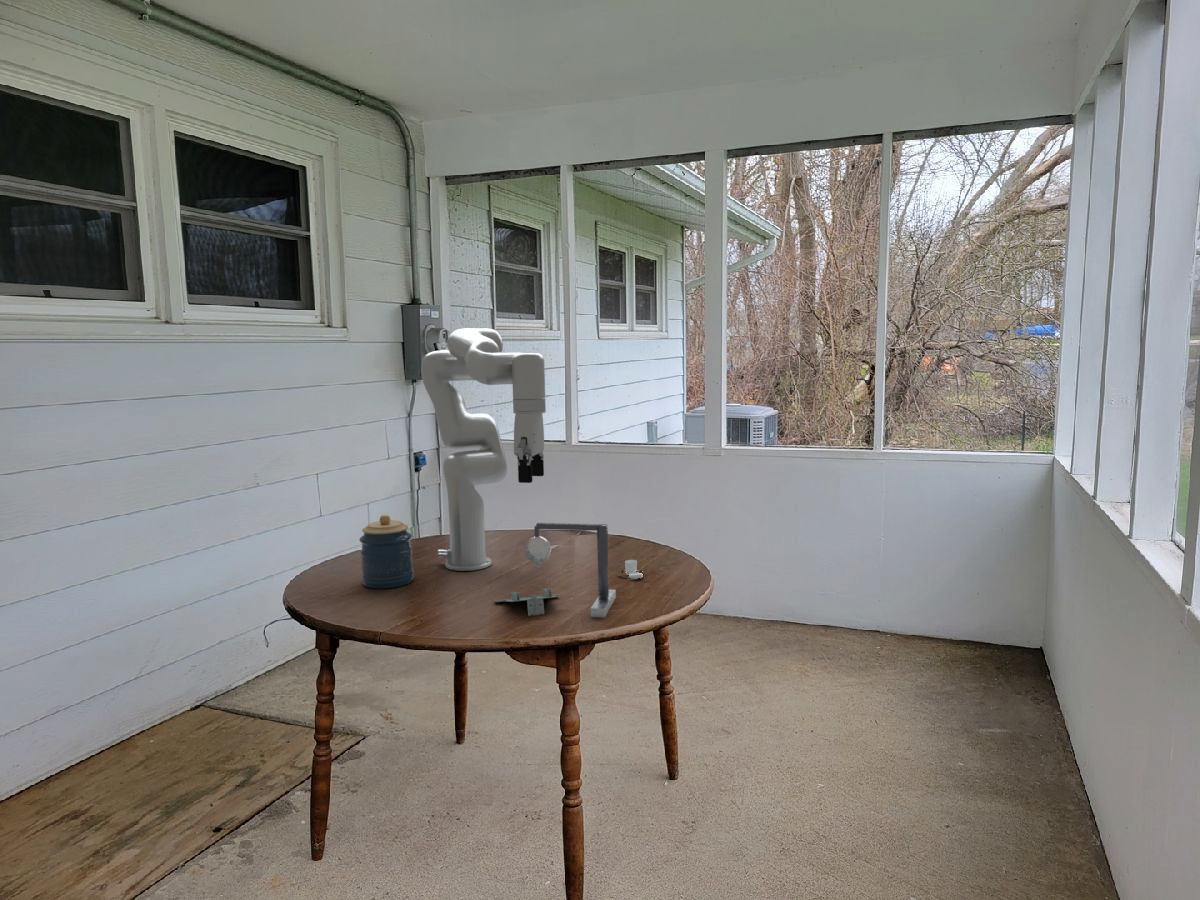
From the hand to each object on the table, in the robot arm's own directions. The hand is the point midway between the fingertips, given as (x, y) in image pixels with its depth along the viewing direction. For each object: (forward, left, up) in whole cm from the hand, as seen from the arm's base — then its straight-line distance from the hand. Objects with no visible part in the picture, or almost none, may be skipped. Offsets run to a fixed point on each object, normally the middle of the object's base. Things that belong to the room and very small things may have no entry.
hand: (531, 479), depth 184 cm
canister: (-41, +6, -28) cm, 50 cm away
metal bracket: (+1, -8, -29) cm, 30 cm away
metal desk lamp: (+10, -6, -28) cm, 30 cm away
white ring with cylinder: (+18, +18, -29) cm, 39 cm away
